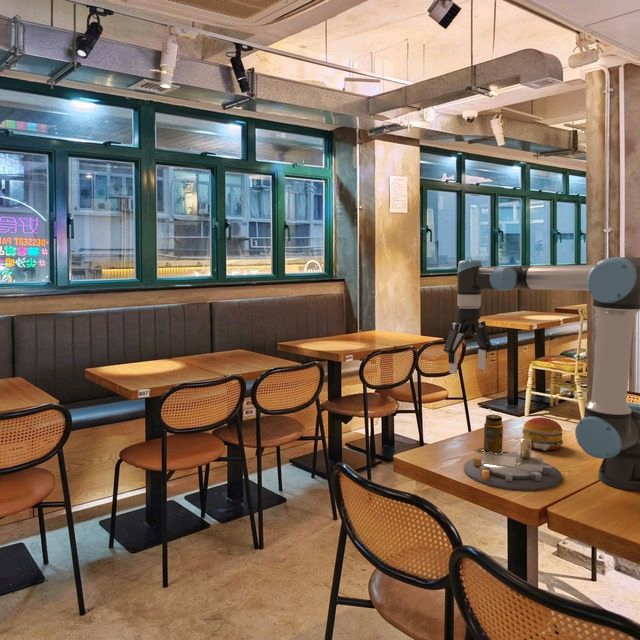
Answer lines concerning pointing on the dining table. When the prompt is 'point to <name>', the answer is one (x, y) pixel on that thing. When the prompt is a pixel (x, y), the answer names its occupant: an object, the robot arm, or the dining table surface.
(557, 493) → the dining table surface
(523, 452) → the grey disc with blocks
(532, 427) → the burger
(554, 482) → the base
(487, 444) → the condiment
